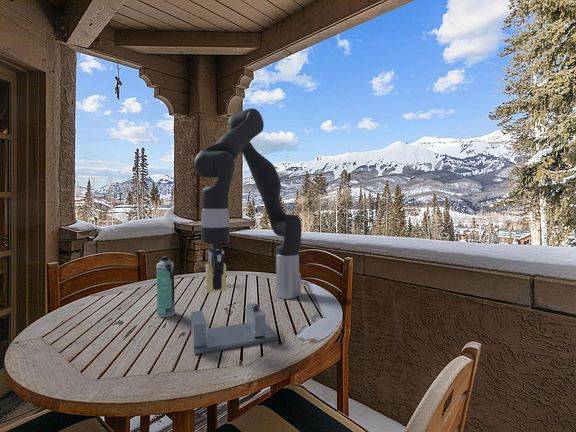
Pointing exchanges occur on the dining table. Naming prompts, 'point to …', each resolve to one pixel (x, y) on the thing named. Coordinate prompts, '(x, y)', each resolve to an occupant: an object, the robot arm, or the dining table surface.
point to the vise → (223, 335)
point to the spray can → (165, 288)
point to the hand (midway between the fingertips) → (216, 286)
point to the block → (210, 279)
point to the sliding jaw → (255, 319)
